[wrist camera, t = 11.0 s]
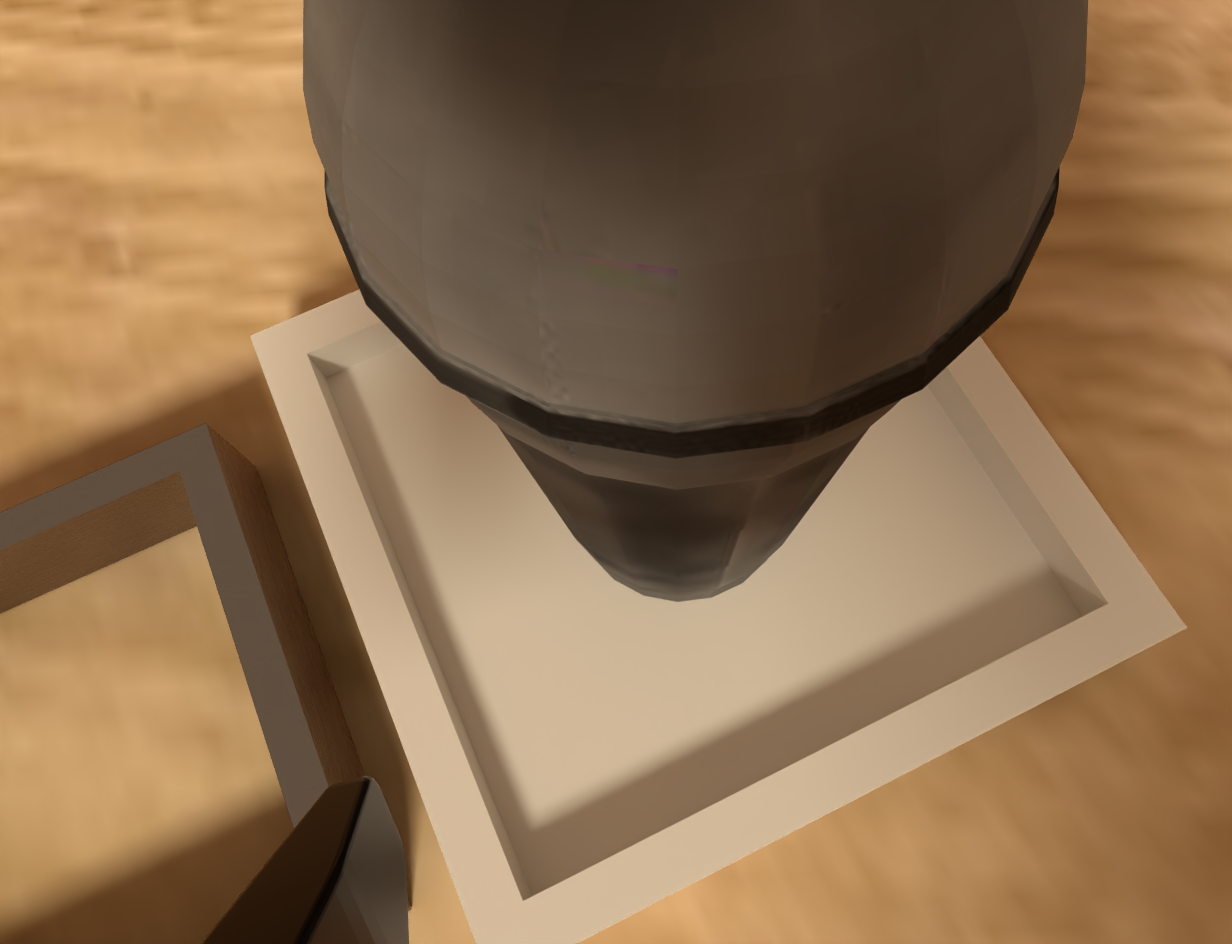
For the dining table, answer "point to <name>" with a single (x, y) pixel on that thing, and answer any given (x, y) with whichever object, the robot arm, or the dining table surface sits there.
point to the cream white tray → (687, 628)
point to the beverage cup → (689, 232)
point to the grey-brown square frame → (242, 569)
